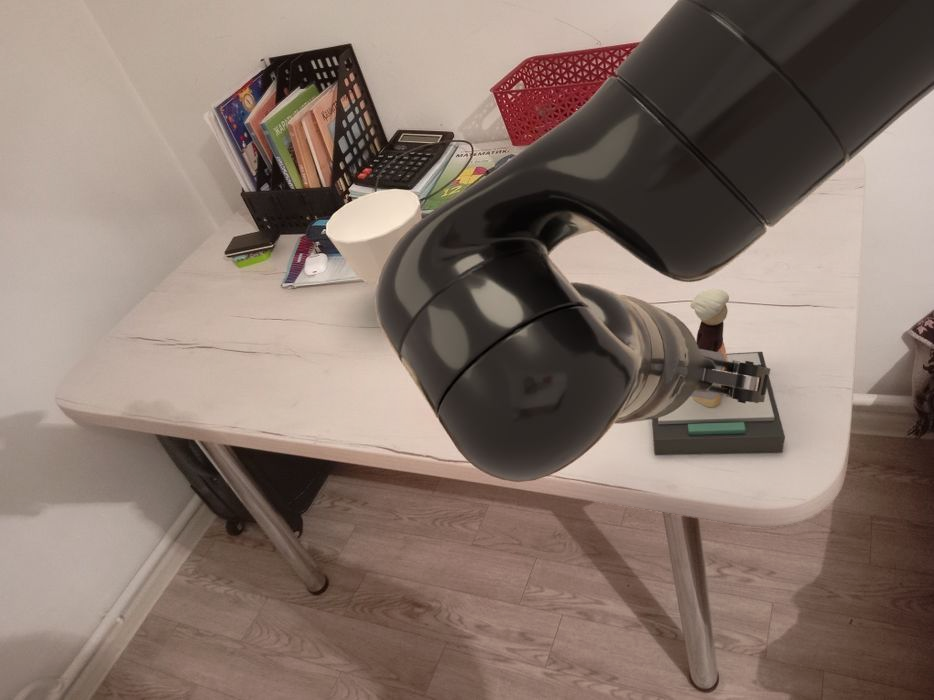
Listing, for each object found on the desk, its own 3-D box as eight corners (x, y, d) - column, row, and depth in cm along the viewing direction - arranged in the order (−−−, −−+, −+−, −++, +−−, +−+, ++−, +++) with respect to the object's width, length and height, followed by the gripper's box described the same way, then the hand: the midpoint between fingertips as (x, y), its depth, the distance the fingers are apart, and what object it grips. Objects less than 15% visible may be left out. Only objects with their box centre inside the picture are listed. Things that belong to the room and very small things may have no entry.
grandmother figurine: (730, 416, 61) (734, 318, 53) (689, 413, 63) (687, 317, 55) (731, 362, 66) (735, 266, 58) (693, 361, 68) (692, 266, 60)
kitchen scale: (761, 366, 69) (762, 347, 67) (782, 452, 60) (785, 432, 58) (649, 373, 72) (647, 354, 70) (654, 455, 64) (653, 436, 62)
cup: (451, 270, 99) (423, 180, 89) (448, 323, 89) (415, 229, 79) (370, 286, 101) (334, 200, 91) (358, 340, 91) (315, 250, 81)
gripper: (762, 316, 34) (782, 338, 48) (529, 285, 41) (606, 312, 55) (735, 450, 34) (763, 433, 48) (509, 396, 41) (590, 395, 55)
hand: (679, 368), depth 52 cm, fingers open, 8 cm apart
